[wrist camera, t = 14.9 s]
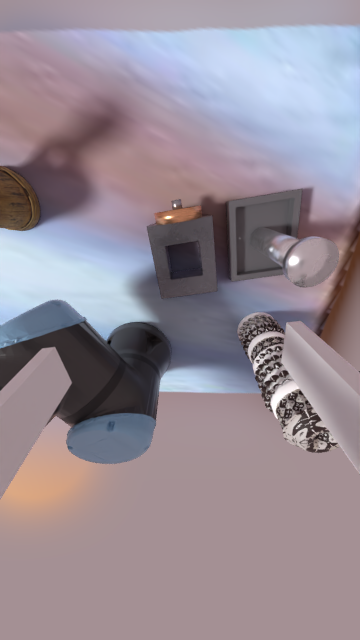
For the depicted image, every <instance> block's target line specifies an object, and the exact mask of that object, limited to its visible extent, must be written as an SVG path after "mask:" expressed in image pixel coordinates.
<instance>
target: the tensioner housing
mask: <svg viewBox="0 0 360 640" xmlns="http://www.w3.org/2000/svg"><path fill="white" fill-rule="evenodd" d="M172 208H173V210H170V211H165V212H159V213H154V214H155V220H156V224H151V225H149V226H147V231H148V236H149V240H150V245H151V250H152V255H153V260H154V265H155V269H156V274H157V279H158V284H159V289H160V294H161V299H164V298H172V297H179V296H186V295H194V294H201V293H208V292H216V291H217V278H216V263H215V249H214V234H213V220H212V216H211V215H204V216H202V212H201V205H200V206H194V207H188V208H182V204H181V199H179V200H173V201H172ZM194 241H198V245H199V254H200V264H201V268H197V269H190V270H183V271H176V272H172V270H171V264H170V258H169V252H168V246H169V245H175V244H181V243H188V242H194Z"/></svg>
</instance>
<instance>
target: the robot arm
mask: <svg viewBox="0 0 360 640" xmlns="http://www.w3.org/2000/svg"><path fill="white" fill-rule="evenodd" d="M86 320H87V319H86V318H85V317H82V316H81V315H80V314H79V313H78V312H77V311H76V310H75V309H73V308H72V307H71V306H70V305H69V304H68V303H67V302H65V301H62V300H50V301H48V302H45V303H43V304H41V305H39V306H37V307H35V308H33V309H31V310H29V311H27V312H25V313H23V314H21V315H19V316H17V317H15V318H13V319H12V320H10V321H8V322H6V323H4V324H2V325H0V499H1V497H2V496H3V494H4V492H5V491H6V489H7V488H8V486H9V484H10V483H11V481H12V480H13V478H14V476H15V475H16V473H17V471H18V469H19V468H20V466H21V465H22V463H23V462H24V460H25V458H26V457H27V455H28V453H29V452H30V450H31V449H32V447H33V445H34V444H35V442H36V440H37V439H38V437H39V436H40V434H41V432H42V431H43V429H44V427H45V426H46V425H47V424H48V423H49V422H50V421H51V420H52V419H53V418H54V417H55V416H57V417H59V418H60V419H62V420H63V421H64V422H65V423H67V424H68V425H70V426H71V429H70V430H69V431H68V434H67V440H66V443H67V445H68V449H69V451H70V452H71V453H72V454H74V455H75V456H77V457H79V458H81V459H83V460H86V461H90V462H95V463H102V464H116V463H122V462H127V461H131V460H133V459H136V458H138V457H139V456H141V455H142V454H144V453H145V452H146V451H147V449H148V448H149V446H150V444H151V441H152V437H153V431H154V428H155V426H156V414H157V405H158V396H159V387H160V380H161V378H162V376H163V375H164V373H165V371H166V370H167V368H168V366H169V364H170V360H171V346H170V343H169V341H168V339H167V337H166V336H165V335H164V334H163V333H162V332H161V331H160V330H158V329H157V328H155V327H153V326H151V325H148V324H144V323H128V324H124V325H121V326H119V327H118V328H116V329H115V330H114V331H113V332H112V333H111V334H110V336H109V337H108V339H107V341H105V340H104V339H103V338H102V337H101V335H100V334H99V333H98V332H97V331H96V330H95V329H94V328H93V327H92V326H91V325H90V324H89V323H88V322H87V321H86ZM281 363H282V364H283V365H284V367H285V368H286V370H287V371H288V373H289V374H290V375H291V377H292V378H293V380H294V381H295V383H296V384H297V386H298V387H299V388H300V390H301V391H302V393H303V394H304V396H305V397H306V398H307V400H308V401H309V403H310V404H311V406H312V407H313V408H314V410H315V411H316V413H317V414H318V416H319V417H320V418H321V420H322V421H323V423H324V424H325V426H326V427H327V428H328V430H329V431H330V433H331V434H332V436H333V437H334V439H335V440H336V441H337V443H338V444H339V446H340V447H341V449H342V450H343V451H344V453H345V454H346V456H347V457H348V459H349V460H350V461H351V463H352V464H353V466H354V467H355V469H356V470H357V471H358V473H359V474H360V371H357V370H356V369H355V368H354V367H353V366H351V365H350V364H349V363H348V362H347V361H346V360H345V359H344V358H342V357H341V356H340V355H339V354H338V353H337V352H335V351H334V350H333V349H332V348H331V347H330V346H329V345H328V344H326V343H325V342H324V341H323V340H322V339H321V338H320V337H318V336H317V335H316V334H315V333H314V332H313V331H312V330H310V329H309V328H308V327H307V326H306V325H305V324H304V323H302V322H301V321H295V322H286V329H285V337H284V344H283V352H282V359H281Z"/></svg>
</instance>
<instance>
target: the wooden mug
mask: <svg viewBox="0 0 360 640" xmlns="http://www.w3.org/2000/svg"><path fill="white" fill-rule="evenodd" d="M39 218H40V206H39V201H38V199H37V196H36V194H35V192H34V191H33V189H32V187H31V186H30V184H29V183H28V182H27V181H26V180H25V179H24V178H23V177H22V176H20V175H19V174H17V173H16V172H14V171H12V170H10V169H8V168H6V167H3V166H0V228H5V229H9V230H18V231H25V230H29V229H31V228H33V227H34V226H35V225H36V224H37V223H38V221H39Z"/></svg>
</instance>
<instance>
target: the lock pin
mask: <svg viewBox="0 0 360 640" xmlns="http://www.w3.org/2000/svg"><path fill="white" fill-rule="evenodd" d="M250 244H251V246H252V247H253V248H255V249H256V250H258V251H259V252H261V253H262V254H264V255H265V256H267V257H268V258H270V259H271V260H273V261H274V262H276V263H278V264H279V265H281V266H282V270H283V273H284V275H285V277H286V278H287V279H288V280H290V281H291V282H292V283H294V284H295V285H297V286H299V287H312V286H315V285H318V284H320V283H322V282H323V281H325V280H326V279H327V278H328V277H329V276H330V275H331V274H332V273H333V271H334V270H335V268H336V266H337V264H338V260H339V251H338V248H337V246H336V245H335V243H334V242H332V241H331V240H328V239H325V238H321V237H317V236H309V237H305V238H303V239H301V240H300V239H297V238H294V237H291V236H288V235H285V234H282V233H279V232H277V231H274V230H271V229H268V228H265V227H260V228H257V229H256V230H255V231H254V232H253V233H252V234H251V237H250Z"/></svg>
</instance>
